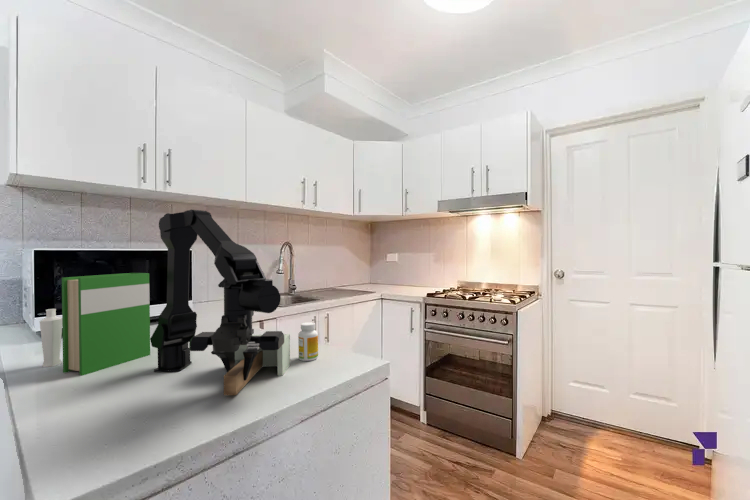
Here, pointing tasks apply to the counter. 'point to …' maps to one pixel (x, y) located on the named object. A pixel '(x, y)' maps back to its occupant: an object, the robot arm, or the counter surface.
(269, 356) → the sage shelf
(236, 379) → the walnut bar
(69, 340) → the hardback book
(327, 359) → the counter surface
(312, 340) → the supplement bottle
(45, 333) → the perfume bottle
